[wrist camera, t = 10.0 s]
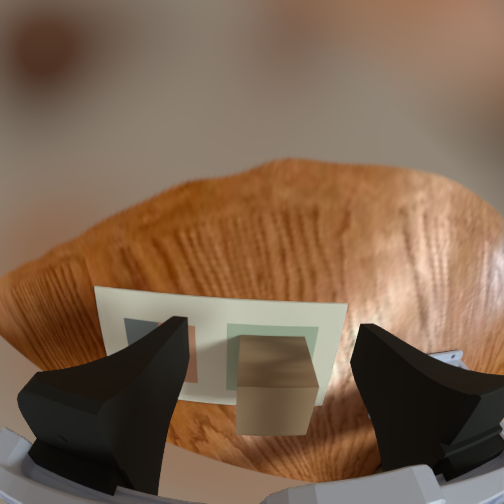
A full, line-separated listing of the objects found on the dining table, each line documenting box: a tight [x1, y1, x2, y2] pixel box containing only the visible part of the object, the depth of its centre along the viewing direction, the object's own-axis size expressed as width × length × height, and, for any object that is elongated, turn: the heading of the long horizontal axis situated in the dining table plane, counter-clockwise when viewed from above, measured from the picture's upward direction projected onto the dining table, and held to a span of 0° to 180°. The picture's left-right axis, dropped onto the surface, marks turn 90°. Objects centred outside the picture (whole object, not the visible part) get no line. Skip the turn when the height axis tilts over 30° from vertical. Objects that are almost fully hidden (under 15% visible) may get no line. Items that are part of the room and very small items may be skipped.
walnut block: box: [235, 335, 319, 436], centre depth 20 cm, size 5×5×6 cm
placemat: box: [94, 286, 348, 406], centre depth 22 cm, size 20×11×1 cm, turn 87°
